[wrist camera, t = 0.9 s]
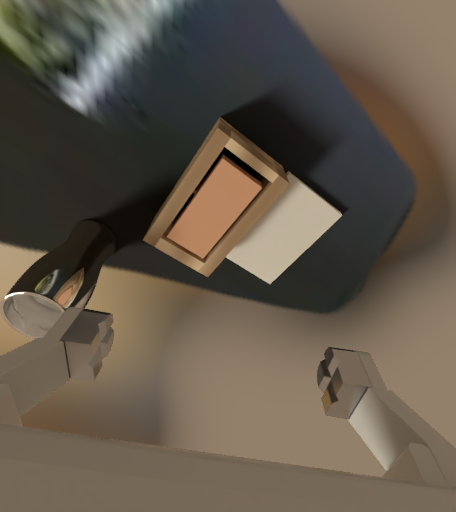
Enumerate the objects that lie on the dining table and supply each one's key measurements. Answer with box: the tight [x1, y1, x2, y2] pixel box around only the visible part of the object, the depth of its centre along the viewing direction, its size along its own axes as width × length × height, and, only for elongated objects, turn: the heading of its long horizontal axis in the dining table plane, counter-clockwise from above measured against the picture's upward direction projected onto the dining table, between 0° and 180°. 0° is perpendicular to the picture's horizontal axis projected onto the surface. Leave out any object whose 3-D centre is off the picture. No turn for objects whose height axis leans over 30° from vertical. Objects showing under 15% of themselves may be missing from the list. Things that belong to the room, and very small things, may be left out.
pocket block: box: [143, 117, 290, 277], centre depth 35 cm, size 9×15×6 cm, turn 144°
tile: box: [167, 155, 262, 258], centre depth 33 cm, size 5×11×3 cm, turn 144°
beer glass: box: [0, 220, 117, 339], centre depth 35 cm, size 7×7×15 cm
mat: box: [226, 171, 342, 284], centre depth 40 cm, size 9×14×1 cm, turn 144°
